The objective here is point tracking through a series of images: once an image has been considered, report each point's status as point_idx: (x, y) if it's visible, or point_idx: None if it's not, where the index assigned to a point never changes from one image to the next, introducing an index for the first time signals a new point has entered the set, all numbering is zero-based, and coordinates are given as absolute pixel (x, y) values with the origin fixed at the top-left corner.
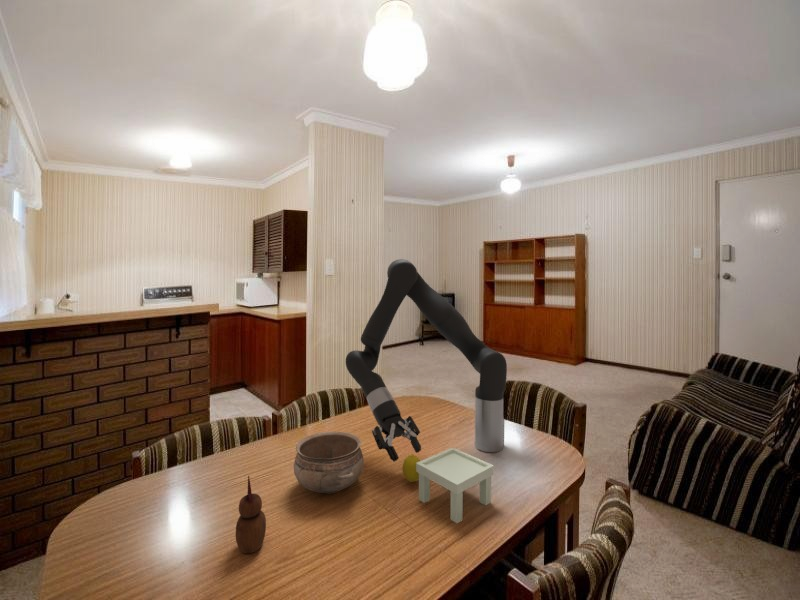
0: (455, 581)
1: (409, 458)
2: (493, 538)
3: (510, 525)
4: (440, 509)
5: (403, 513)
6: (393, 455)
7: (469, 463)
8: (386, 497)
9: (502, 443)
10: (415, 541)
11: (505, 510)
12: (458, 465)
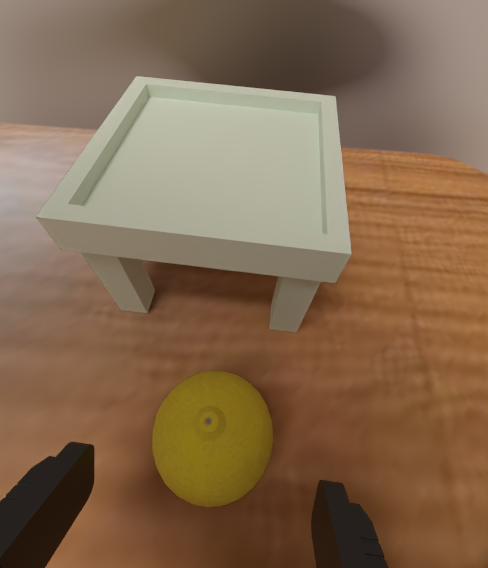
0: (416, 153)
1: (241, 423)
2: None
3: None
4: None
5: (388, 322)
6: (360, 525)
7: (150, 136)
8: (388, 443)
9: None
10: (424, 236)
11: None
12: (193, 153)
